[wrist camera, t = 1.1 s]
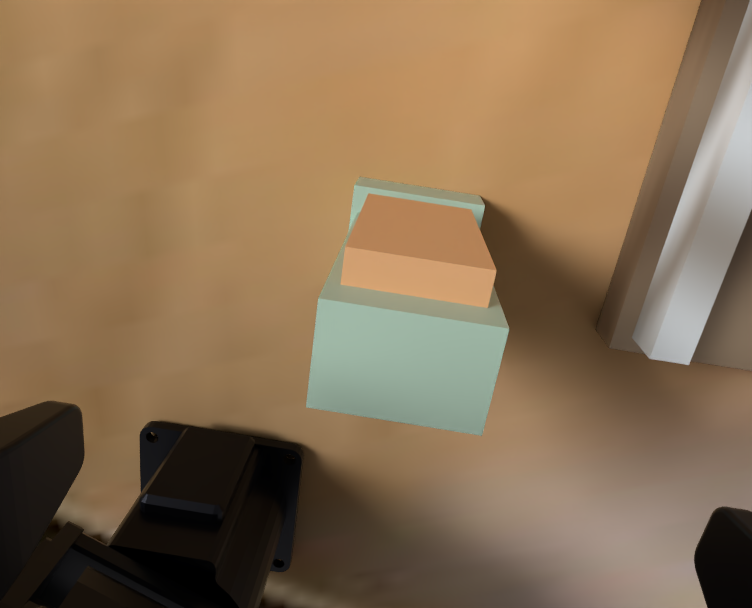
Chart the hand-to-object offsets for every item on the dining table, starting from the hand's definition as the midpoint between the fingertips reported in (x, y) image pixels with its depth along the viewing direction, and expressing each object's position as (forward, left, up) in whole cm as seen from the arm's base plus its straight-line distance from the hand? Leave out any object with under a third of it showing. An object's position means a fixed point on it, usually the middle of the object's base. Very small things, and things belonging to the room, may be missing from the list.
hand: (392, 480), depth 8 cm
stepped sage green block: (0, 0, -12) cm, 12 cm away
